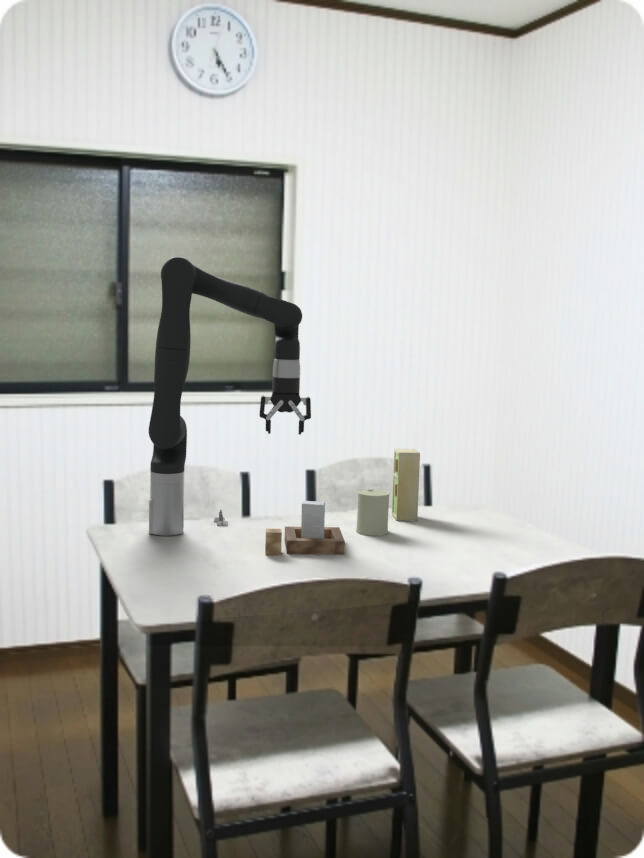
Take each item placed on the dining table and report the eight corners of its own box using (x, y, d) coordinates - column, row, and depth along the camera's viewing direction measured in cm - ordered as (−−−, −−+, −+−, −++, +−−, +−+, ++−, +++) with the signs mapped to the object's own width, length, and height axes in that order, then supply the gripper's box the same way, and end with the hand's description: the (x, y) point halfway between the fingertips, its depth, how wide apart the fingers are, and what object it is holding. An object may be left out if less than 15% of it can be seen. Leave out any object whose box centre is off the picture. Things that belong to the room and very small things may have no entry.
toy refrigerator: (388, 514, 288) (391, 448, 285) (412, 515, 288) (415, 448, 286) (393, 520, 280) (396, 452, 277) (417, 521, 281) (420, 452, 278)
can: (380, 527, 271) (382, 487, 270) (393, 535, 262) (394, 493, 261) (351, 528, 268) (352, 488, 267) (362, 536, 260) (364, 494, 258)
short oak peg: (265, 555, 237) (266, 532, 236) (265, 551, 241) (265, 528, 240) (281, 555, 237) (281, 532, 237) (280, 551, 241) (281, 528, 241)
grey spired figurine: (207, 522, 271) (207, 507, 271) (229, 522, 273) (229, 507, 273) (216, 535, 257) (216, 519, 256) (239, 534, 259) (240, 519, 258)
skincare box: (324, 545, 249) (325, 501, 247) (323, 549, 245) (324, 504, 243) (301, 543, 249) (303, 500, 248) (300, 548, 245) (301, 503, 244)
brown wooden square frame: (286, 553, 239) (287, 540, 239) (284, 538, 254) (284, 526, 253) (344, 554, 240) (344, 541, 240) (338, 539, 255) (339, 527, 255)
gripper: (260, 376, 251) (259, 435, 253) (313, 377, 252) (311, 436, 254) (260, 373, 258) (258, 431, 261) (311, 375, 260) (309, 432, 262)
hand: (284, 433), depth 257 cm, fingers open, 8 cm apart
